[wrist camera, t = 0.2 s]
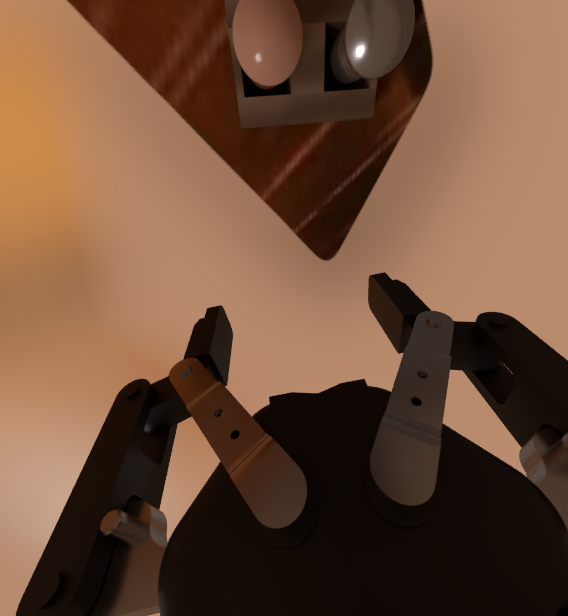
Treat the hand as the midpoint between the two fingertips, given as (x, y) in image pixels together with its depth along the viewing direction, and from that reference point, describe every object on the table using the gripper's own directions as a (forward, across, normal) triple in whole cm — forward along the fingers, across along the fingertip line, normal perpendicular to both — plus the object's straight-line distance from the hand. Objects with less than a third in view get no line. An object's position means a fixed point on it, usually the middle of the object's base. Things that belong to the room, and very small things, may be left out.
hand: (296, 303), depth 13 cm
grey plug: (+23, -10, -12) cm, 28 cm away
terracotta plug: (+23, -2, -13) cm, 27 cm away
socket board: (+28, -6, -12) cm, 32 cm away
